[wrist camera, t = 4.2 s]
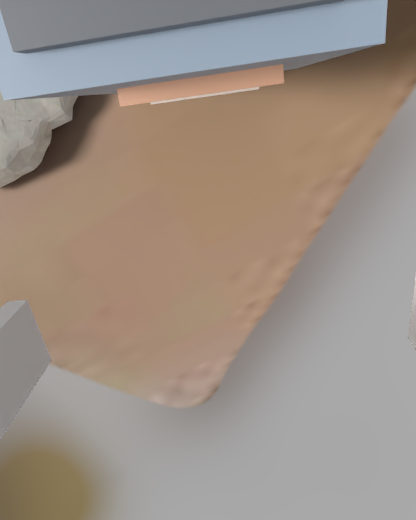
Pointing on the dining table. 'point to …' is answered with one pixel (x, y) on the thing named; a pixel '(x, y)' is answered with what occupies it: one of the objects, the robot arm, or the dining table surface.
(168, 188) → the dining table surface
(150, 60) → the box
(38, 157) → the rock
